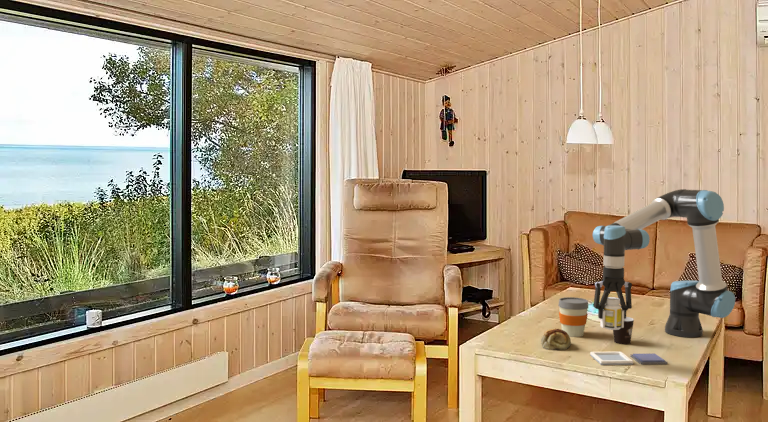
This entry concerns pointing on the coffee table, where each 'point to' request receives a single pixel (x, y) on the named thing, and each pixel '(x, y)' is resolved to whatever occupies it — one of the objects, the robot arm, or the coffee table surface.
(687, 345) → the coffee table surface
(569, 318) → the reusable coffee cup
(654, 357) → the ink pad
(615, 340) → the coffee mug
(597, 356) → the picture frame
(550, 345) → the pastry
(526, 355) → the coffee table surface
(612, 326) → the supplement bottle
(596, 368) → the coffee table surface
